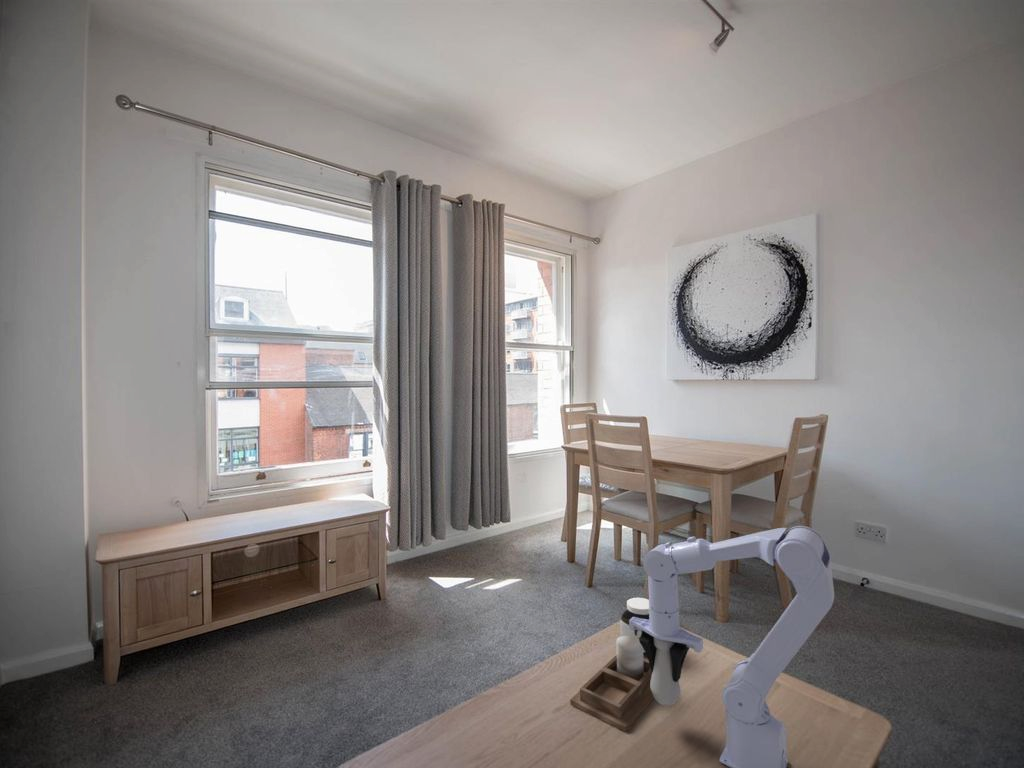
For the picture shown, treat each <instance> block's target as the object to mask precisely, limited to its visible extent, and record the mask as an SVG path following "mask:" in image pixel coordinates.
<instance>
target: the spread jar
mask: <svg viewBox="0 0 1024 768" xmlns="http://www.w3.org/2000/svg"><path fill="white" fill-rule="evenodd" d="M632 617H636V618H641V619H648V620H649V598H644V597H632V598H630V599H628V600H626V609H625V610H623V612H622V613H621V615H620V625H619V626H620V637H621V636H634V637H637V638H639V637H640V636H641V634H642V632H641V631H639V630H636V629H635V630H630V629H629V620H630V619H631V618H632ZM644 656H646V657H647V655H646V653H645V651H644V649H643V657H644Z"/></svg>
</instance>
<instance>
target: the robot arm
mask: <svg viewBox="0 0 1024 768" xmlns="http://www.w3.org/2000/svg"><path fill="white" fill-rule="evenodd" d="M787 529H788V527H779V528H774V529H769V530H764V531H758V532H754V533H750V534H745V535H742V536H738V537H734V538H729V539H725V540H721V541H720V540H719V541H716V542H710V541H708V540H707V539H705V538H696V536H689V537H688V538H687V539H686V541H680V542H677V543H676V542H675V543H672V541H668V542H666V543H665V544H664V543H661V544H659V545H656V546H655V547H654V548H652V549H651V550H649V551H648V552H647V553H646V554H645V555H644V556H643V561H642V564H643V565H642V566H643V569H644V571H645V572H646V574H647V575H648V576H647V578H648V579H647V580H648V581H647V582H648V584H647V587H648V600H649V620H648V619H641V618H636V617H632V618H631V619H630V620H629V629H630V630H635V629H636V630H639V631H641V632H642V634H641V636H640V637H639V642H640V644H641V645H642V647H643V649H644V651H645V653H646V658H647V660H648V661H649V664H650V668H651V672H652V673H653V668H654V662H655V656H656V650H657V648H656V646H655V645H654V637H655V638H657V639H660V640H665V641H671V642H674V645H673V646H672V647H671V648H670V649H669V651H670V655H671V659H672V676H673V681H674V682H677V681H678V680H680V679H681V675H682V670H683V665H684V662H685V659H686V656H687V654H688V652H689V649H692V650H694V652H696V653H699V654H700V653H701V652H702V651H703V649H704V639H703V638H702V637H699V636H696V635H694V634H692V633H691V632H689V631H687V630H685V629H683V628H682V627H680V609H679V607H680V606H679V585H678V575H686V574H691V573H697V572H699V573H700V572H705V571H710V570H713V568H715V565H716V563H717V562H723V561H733V560H739V559H740V560H741V559H748V558H749V559H751V558H756V557H757V558H760V559H761V560H763V561H764V562H765V563H767V564H769V565H770V566H772V567H774V566H775V564H776V563H777V564H778V566H779V568H780V569H781V571H782V572H783V573H784V574H785V576H787V578H788V579H789V580H790V581H791V582H792V585H793V587H794V588H795V592H796V594H795V596H794V598H793V599H792V601H790V603H789V605H788V606H787V607H786V608H785V610H784V611H783V613H782V614H781V615H780V617H779V619H778V620H777V621H776V623H775V624H774V625H773V627H772V628H771V630H770V631H769V632H768V633H767V634H766V636H765V638H764V639H763V641H762V642H761V643H760V645H758V648H756V650H755V651H754V652H753V653H752V654H751V655H750V657H749V658H747V659H745V660H743V661H740V662H738V663H737V664H736V665H735V666H734V670H733V672H732V675H731V677H730V678H729V680H728V683H727V684H726V685H725V686H724V687H723V689H722V693H721V699H722V703H723V707H724V708H725V722H726V723H725V725H726V726H725V727H726V745H725V747H724V749H723V751H722V752H721V754H720V757H719V762H720V763H721V764H723V765H725V766H727V767H728V768H787V766H788V762H789V760H788V757H787V755H788V753H787V752H788V750H787V729H786V724H785V722H783V721H781V720H780V719H778V718H777V717H775V716H774V715H772V714H771V710H770V708H769V706H768V704H767V701H766V700H767V696H768V695H769V693H770V692H771V689H772V687H773V686H774V684H775V682H776V681H777V679H778V678H779V676H781V674H782V673H783V671H784V670H785V669H786V668H787V666H788V665H789V664H790V662H791V661H792V659H793V658H794V657H795V656H796V654H797V653H798V651H799V650H800V649H801V648H802V646H803V645H805V642H806V641H807V640H808V638H810V636H811V635H812V633H813V632H814V631H815V630H816V628H817V627H818V625H819V624H820V623H821V621H822V620H823V619H824V618H825V616H826V615H827V613H828V612H829V611H830V609H832V606H833V605H834V602H835V590H834V589H835V588H834V580H833V579H834V578H833V572H832V571H833V569H832V554H831V552H830V549H829V548H828V545H827V543H826V542H825V540H824V538H823V537H822V535H821V534H820V533H819V532H818V531H816V530H815V529H814V528H812V527H808V526H806V525H805V526H804V525H796V526H792V527H790V528H789V529H788V530H787ZM786 530H787V531H786ZM785 531H786V532H785Z"/></svg>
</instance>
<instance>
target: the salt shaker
mask: <svg viewBox="0 0 1024 768" xmlns="http://www.w3.org/2000/svg"><path fill="white" fill-rule="evenodd" d="M654 645H655V646H656V648H657V650H656V656H655V662H654V668H653V673H652V677H651V682H650V687H651V691H652V693H653V696H654V698H653V699H654V700H656V702H658V703H659V705H662V706H669V707H671V706H673V705H674V704H676V703H677V702H678V699H679V697H680V695H681V686H680V681H679V680H680V679H679V680H678V681H677V682H674V681H673V676H672V659H671V655H670V651H669V649H670V648H671V647H672V646H673V645H674V642H671V641H665V640H660V639H657V638H655V637H654Z"/></svg>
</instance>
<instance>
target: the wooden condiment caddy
mask: <svg viewBox="0 0 1024 768" xmlns="http://www.w3.org/2000/svg"><path fill="white" fill-rule="evenodd" d="M615 641H616V642H615V643H616V645H615V646H616V648H615V649H616V655H615V656H613V658H611V660H609V661H608V662H607V663H605V665H604V666H603V667H602V668H601V669H600V670H598V672H597V673H595V674H594V675H593V676H592V677H591V678H590V679H589V680H588V681H586V683H584V685H582V686H581V687H580V688H579V691H578V692H576V694H575V695H574V696H573V697H572V698H570V699H569V700H570V705H571V706H573V707H575V708H577V709H579V710H580V711H583V712H585V713H587V714H589V715H591V716H593V717H595V718H596V719H599V720H601V721H603V722H605V723H607V724H608V725H611V726H612V727H615V728H617V729H619V730H621V731H623V732H625V733H627V731H628V730H629V729H630V727H632V725H633V724H634V722H636V720H637V719H638V717H640V716H641V714H643V711H645V709H646V708H647V707H648V706H649V705H650V703H651V702H652V701H653V699H655V698H654V696H653V693H652V691H651V687H650V682H651V677H652V672H651V668H650V664H649V661H648V659H644V656H643V647H642V645H641V644H640V642H639V638H637V637H634V636H621V635H620V636H619V637H617V639H616V640H615Z"/></svg>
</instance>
